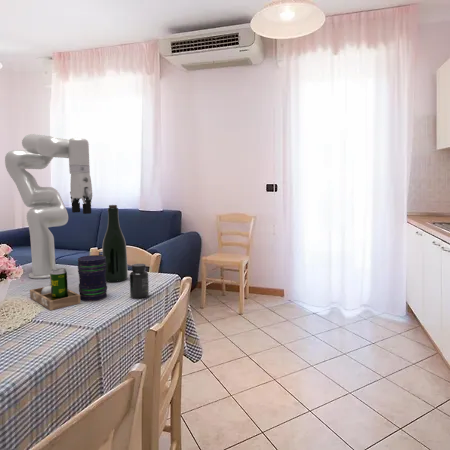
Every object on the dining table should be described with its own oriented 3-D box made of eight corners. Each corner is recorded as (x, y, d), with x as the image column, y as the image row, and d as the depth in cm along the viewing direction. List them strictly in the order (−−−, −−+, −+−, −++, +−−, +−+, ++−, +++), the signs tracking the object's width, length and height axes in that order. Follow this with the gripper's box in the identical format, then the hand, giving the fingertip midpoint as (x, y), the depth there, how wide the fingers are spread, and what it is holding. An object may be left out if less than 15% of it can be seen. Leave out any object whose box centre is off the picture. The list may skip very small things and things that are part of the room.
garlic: (49, 294, 137) (49, 281, 137) (61, 296, 136) (60, 282, 135) (37, 299, 131) (36, 285, 131) (49, 300, 130) (48, 286, 129)
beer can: (60, 299, 131) (58, 267, 129) (71, 301, 129) (70, 268, 127) (48, 304, 126) (46, 270, 124) (59, 306, 124) (58, 272, 122)
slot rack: (29, 297, 133) (29, 290, 133) (58, 291, 141) (57, 284, 140) (50, 310, 120) (49, 301, 120) (80, 303, 127) (80, 294, 127)
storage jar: (95, 302, 128) (93, 261, 126) (73, 299, 131) (71, 259, 130) (112, 294, 137) (111, 256, 135) (92, 292, 141) (90, 254, 139)
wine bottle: (115, 275, 166) (112, 203, 162) (132, 278, 161) (130, 204, 157) (97, 280, 157) (94, 205, 153) (115, 283, 152) (112, 205, 148)
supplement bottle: (147, 292, 140) (146, 262, 138) (149, 298, 133) (149, 266, 132) (129, 294, 137) (128, 263, 136) (130, 299, 131) (129, 267, 130)
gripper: (99, 169, 140) (100, 213, 142) (79, 171, 152) (81, 211, 154) (80, 169, 135) (82, 214, 137) (61, 170, 146) (63, 212, 148)
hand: (81, 213), depth 145 cm, fingers open, 9 cm apart
